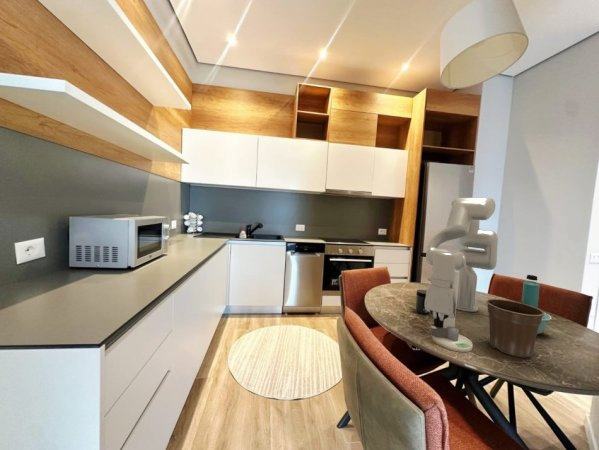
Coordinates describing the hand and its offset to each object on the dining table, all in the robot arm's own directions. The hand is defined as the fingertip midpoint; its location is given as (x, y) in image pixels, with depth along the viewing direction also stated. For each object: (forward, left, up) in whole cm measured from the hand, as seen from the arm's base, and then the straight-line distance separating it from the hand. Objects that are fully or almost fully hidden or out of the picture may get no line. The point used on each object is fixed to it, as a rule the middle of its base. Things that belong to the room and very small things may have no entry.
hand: (438, 328), depth 99 cm
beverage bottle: (+21, +67, -3) cm, 70 cm away
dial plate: (+5, -1, -3) cm, 6 cm away
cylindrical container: (-1, +11, -3) cm, 11 cm away
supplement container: (-14, +21, -3) cm, 25 cm away
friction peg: (+3, -3, -1) cm, 4 cm away
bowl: (+22, +39, -4) cm, 45 cm away
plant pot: (+21, +12, -4) cm, 24 cm away
